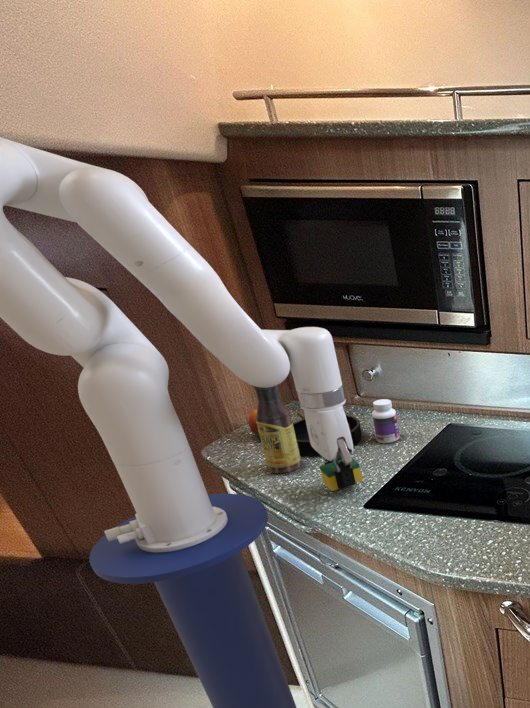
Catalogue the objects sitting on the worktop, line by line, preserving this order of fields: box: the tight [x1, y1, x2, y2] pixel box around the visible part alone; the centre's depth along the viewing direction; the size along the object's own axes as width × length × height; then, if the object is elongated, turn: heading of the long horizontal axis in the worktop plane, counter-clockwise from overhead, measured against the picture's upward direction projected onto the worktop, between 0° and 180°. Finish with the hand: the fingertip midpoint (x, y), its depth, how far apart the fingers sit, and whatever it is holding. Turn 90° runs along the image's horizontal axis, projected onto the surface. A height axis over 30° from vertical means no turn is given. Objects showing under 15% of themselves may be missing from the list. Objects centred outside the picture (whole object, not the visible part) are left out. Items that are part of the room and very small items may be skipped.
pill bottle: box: [371, 398, 401, 444], centre depth 120 cm, size 5×5×10 cm
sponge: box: [319, 456, 363, 492], centre depth 99 cm, size 6×4×4 cm, turn 136°
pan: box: [293, 409, 363, 458], centre depth 121 cm, size 16×22×4 cm
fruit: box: [248, 409, 260, 438], centre depth 120 cm, size 8×8×8 cm
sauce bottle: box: [253, 384, 302, 474], centre depth 103 cm, size 6×6×20 cm
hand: (342, 481), depth 100 cm, fingers closed on sponge, 4 cm apart
